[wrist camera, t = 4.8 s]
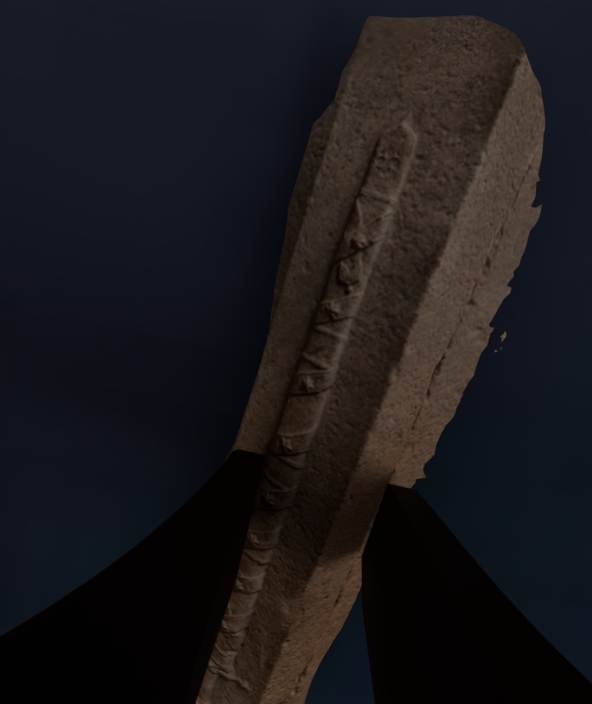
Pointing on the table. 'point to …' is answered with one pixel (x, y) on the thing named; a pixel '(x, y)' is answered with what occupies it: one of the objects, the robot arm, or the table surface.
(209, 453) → the table surface
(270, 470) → the sword-carved stone slab
